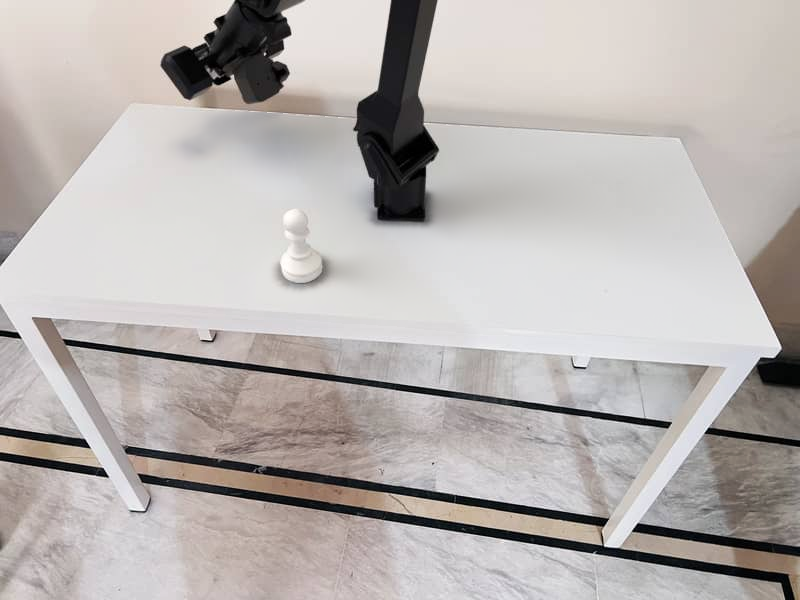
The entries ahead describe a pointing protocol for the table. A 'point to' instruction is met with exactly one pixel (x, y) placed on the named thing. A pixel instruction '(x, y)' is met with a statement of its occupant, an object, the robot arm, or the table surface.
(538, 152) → the table surface
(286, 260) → the chess pawn
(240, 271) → the table surface
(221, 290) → the table surface
